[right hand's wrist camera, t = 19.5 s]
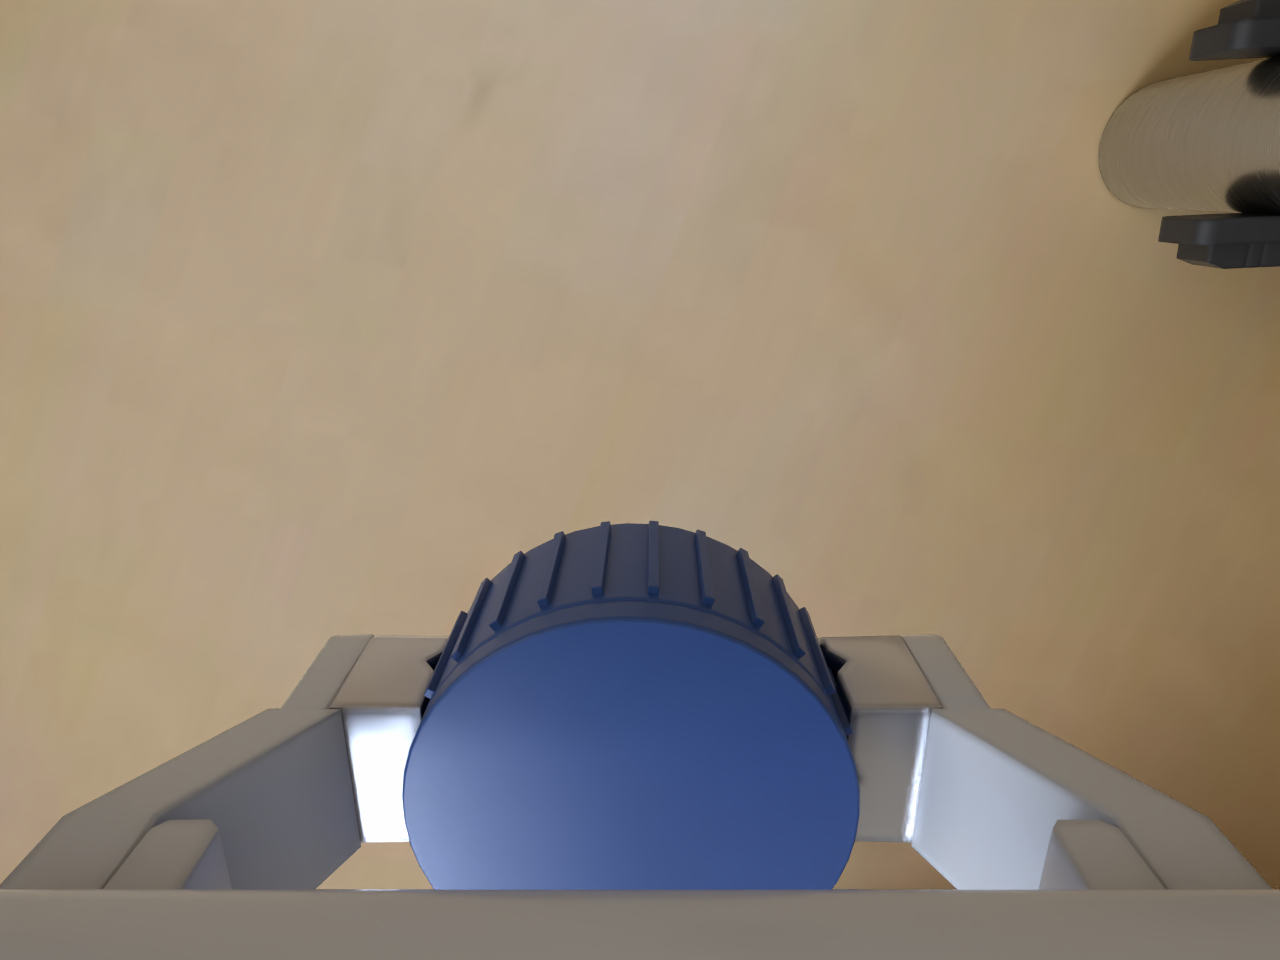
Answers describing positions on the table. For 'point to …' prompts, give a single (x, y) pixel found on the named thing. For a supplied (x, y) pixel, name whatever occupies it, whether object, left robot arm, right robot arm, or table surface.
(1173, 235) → the left robot arm
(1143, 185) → the jar
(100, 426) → the table surface
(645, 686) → the lid
